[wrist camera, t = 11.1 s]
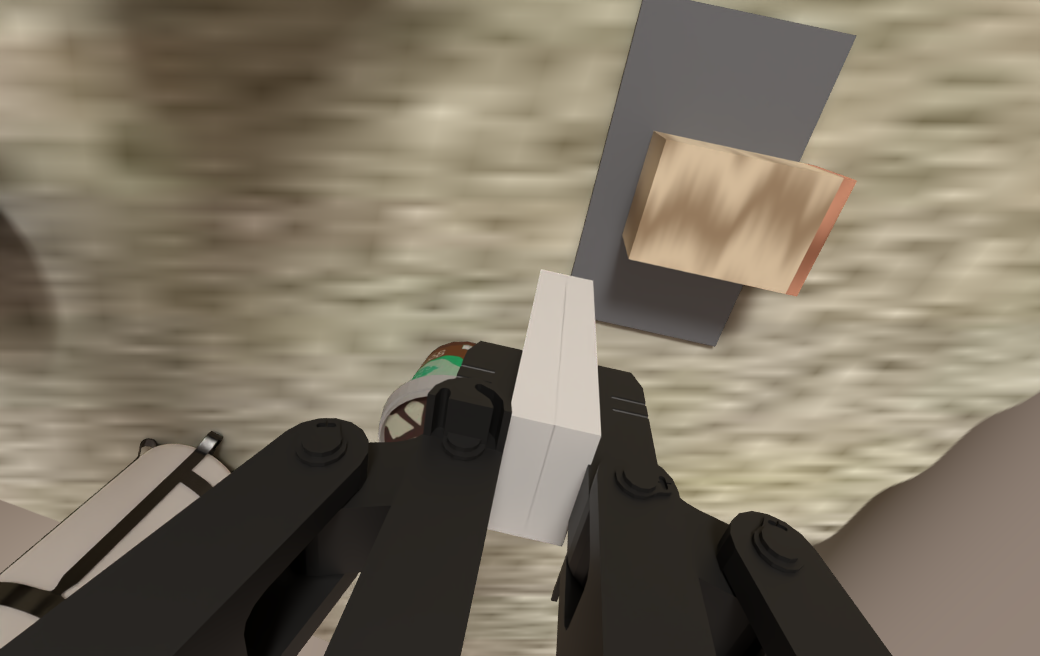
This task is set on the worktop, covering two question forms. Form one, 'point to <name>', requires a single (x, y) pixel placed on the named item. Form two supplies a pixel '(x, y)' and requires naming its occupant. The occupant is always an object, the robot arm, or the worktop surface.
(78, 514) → the coffee press
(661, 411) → the worktop surface
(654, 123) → the rubber mat
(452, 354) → the food container
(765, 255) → the maple block
